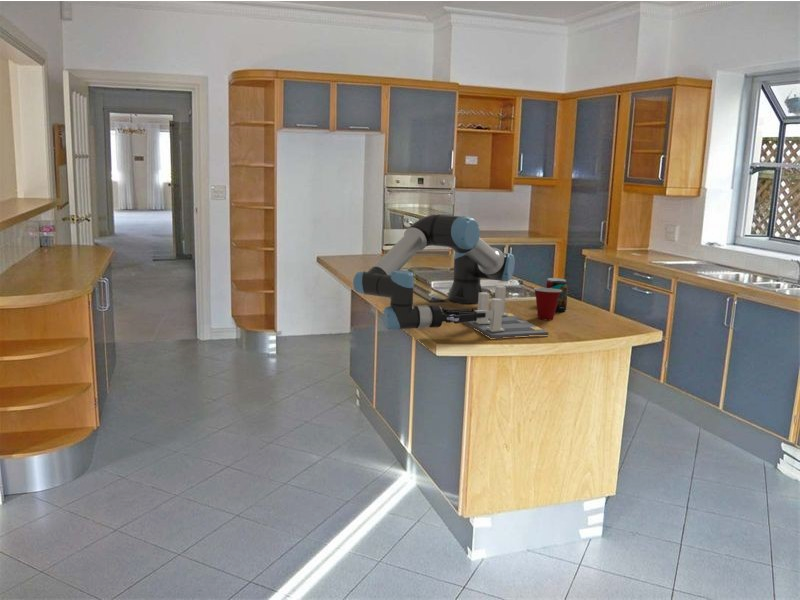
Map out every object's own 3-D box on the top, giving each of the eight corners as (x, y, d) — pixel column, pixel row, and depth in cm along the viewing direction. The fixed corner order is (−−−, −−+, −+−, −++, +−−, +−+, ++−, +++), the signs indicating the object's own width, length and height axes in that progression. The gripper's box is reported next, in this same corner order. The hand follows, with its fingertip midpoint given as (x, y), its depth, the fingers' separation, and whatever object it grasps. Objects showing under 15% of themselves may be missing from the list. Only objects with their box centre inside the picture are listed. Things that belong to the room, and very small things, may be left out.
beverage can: (566, 313, 287) (568, 284, 285) (548, 311, 289) (551, 283, 286) (565, 309, 294) (567, 281, 292) (548, 308, 295) (550, 280, 293)
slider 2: (490, 313, 274) (492, 285, 271) (502, 313, 275) (504, 285, 273) (495, 316, 270) (497, 287, 267) (507, 315, 271) (509, 287, 269)
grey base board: (455, 317, 273) (455, 313, 273) (507, 315, 280) (507, 311, 279) (491, 339, 242) (491, 334, 242) (548, 336, 249) (548, 331, 249)
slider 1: (473, 321, 260) (475, 292, 258) (486, 320, 261) (487, 291, 259) (478, 324, 256) (480, 294, 254) (491, 323, 257) (492, 294, 255)
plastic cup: (559, 316, 281) (561, 286, 278) (559, 322, 270) (562, 291, 268) (531, 314, 283) (533, 285, 280) (531, 320, 272) (533, 289, 270)
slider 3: (486, 328, 250) (487, 298, 247) (499, 328, 251) (500, 297, 249) (491, 331, 246) (493, 300, 243) (504, 331, 247) (506, 300, 245)
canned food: (564, 307, 299) (566, 281, 296) (545, 305, 300) (547, 280, 298) (564, 303, 306) (566, 278, 304) (545, 302, 308) (547, 277, 305)
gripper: (422, 322, 246) (484, 320, 253) (434, 332, 234) (499, 328, 241) (422, 301, 244) (485, 299, 251) (435, 309, 232) (501, 307, 239)
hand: (492, 313), depth 246 cm, fingers closed
